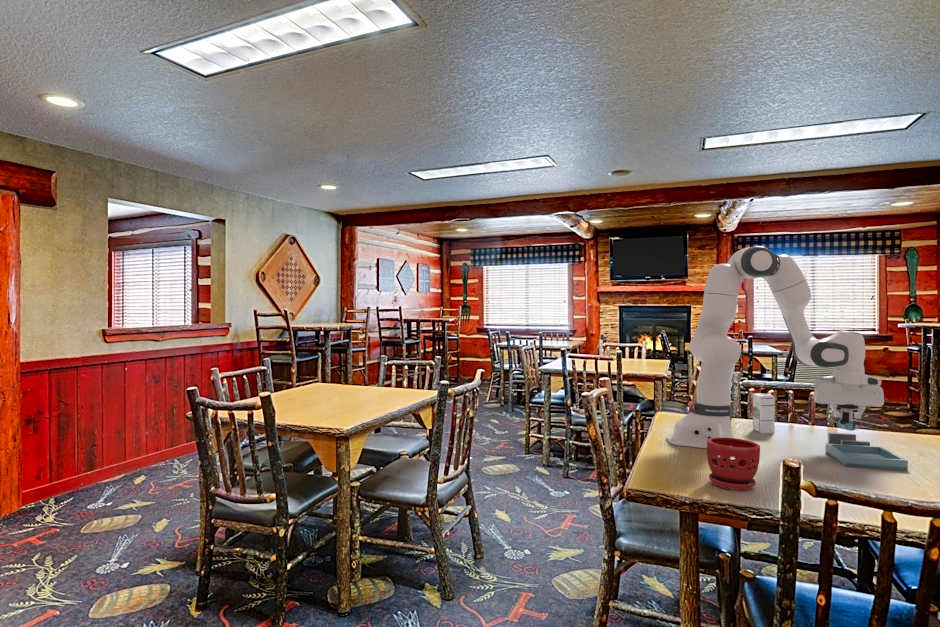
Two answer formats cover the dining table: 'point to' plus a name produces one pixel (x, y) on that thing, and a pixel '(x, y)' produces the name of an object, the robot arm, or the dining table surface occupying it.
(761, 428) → the syrup box
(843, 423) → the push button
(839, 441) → the clip holder
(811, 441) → the dining table surface
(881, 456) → the tray
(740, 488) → the plant pot
